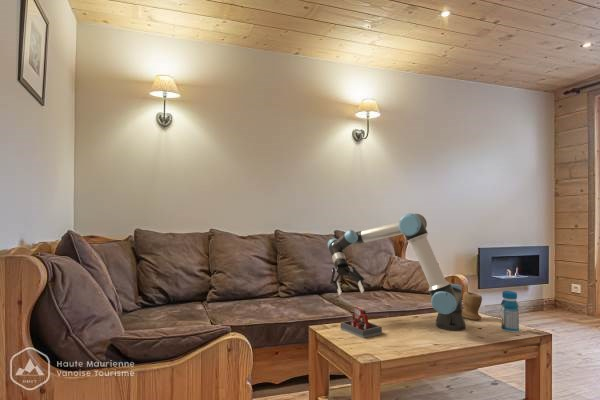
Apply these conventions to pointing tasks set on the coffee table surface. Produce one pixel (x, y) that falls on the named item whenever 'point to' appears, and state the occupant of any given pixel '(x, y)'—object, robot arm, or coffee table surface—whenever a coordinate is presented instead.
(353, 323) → the toy fire truck
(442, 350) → the coffee table surface
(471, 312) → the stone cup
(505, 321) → the beverage bottle
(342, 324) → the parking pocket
